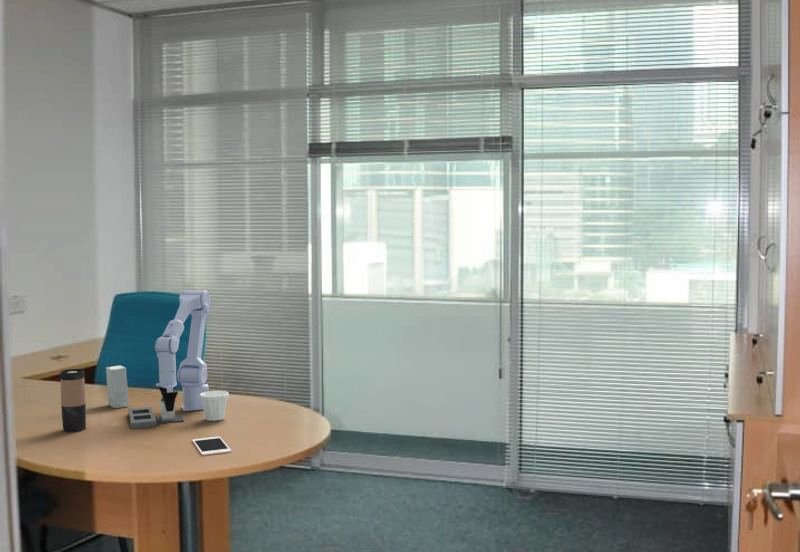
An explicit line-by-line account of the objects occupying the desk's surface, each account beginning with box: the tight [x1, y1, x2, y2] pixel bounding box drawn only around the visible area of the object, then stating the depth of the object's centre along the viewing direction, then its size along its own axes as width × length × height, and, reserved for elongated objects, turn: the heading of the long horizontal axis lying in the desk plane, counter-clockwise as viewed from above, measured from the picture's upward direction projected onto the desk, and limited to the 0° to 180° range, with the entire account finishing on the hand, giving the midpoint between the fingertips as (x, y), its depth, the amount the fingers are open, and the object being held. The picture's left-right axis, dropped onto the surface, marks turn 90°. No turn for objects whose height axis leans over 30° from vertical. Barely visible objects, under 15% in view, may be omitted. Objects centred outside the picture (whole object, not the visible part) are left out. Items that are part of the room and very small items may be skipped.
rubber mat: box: [155, 414, 184, 425], centre depth 291 cm, size 9×9×1 cm
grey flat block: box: [127, 406, 157, 430], centre depth 290 cm, size 8×22×2 cm, turn 21°
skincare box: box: [105, 365, 130, 409], centre depth 313 cm, size 8×6×15 cm
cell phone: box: [191, 436, 232, 457], centre depth 257 cm, size 9×18×1 cm, turn 24°
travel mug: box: [59, 368, 87, 433], centre depth 278 cm, size 8×8×20 cm
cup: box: [200, 390, 230, 422], centre depth 290 cm, size 10×10×9 cm
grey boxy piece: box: [158, 397, 177, 421], centre depth 290 cm, size 5×5×7 cm
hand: (168, 408), depth 291 cm, fingers open, 7 cm apart
